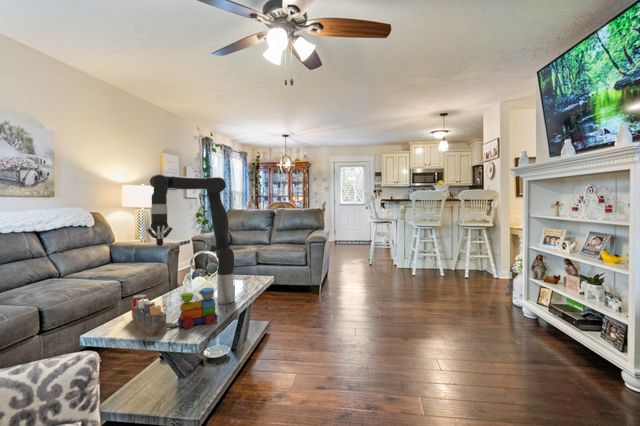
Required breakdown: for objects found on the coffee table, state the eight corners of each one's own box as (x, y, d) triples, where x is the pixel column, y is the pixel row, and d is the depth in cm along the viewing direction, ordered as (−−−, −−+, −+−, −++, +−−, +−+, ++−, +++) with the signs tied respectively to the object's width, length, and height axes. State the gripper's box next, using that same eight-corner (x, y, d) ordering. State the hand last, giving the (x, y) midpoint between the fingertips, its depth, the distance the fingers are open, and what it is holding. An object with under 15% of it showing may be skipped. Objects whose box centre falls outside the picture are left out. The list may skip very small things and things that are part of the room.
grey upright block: (152, 315, 153) (152, 301, 153) (156, 317, 150) (156, 303, 150) (142, 317, 150) (142, 303, 150) (146, 319, 147) (145, 305, 147)
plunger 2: (158, 318, 148) (158, 304, 148) (163, 321, 145) (162, 306, 145) (148, 321, 145) (148, 306, 145) (152, 323, 142) (152, 308, 142)
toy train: (151, 327, 151) (150, 293, 151) (212, 316, 167) (212, 285, 166) (153, 336, 141) (152, 299, 141) (218, 324, 156) (218, 290, 156)
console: (148, 320, 160) (148, 303, 160) (166, 332, 145) (166, 313, 145) (133, 324, 155) (133, 307, 155) (150, 336, 140) (150, 317, 140)
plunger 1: (146, 311, 158) (146, 298, 158) (150, 313, 155) (150, 299, 155) (136, 314, 155) (136, 300, 155) (140, 316, 152) (140, 302, 152)
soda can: (150, 317, 164) (150, 294, 164) (139, 322, 158) (138, 298, 157) (140, 316, 167) (140, 293, 166) (128, 320, 160) (128, 297, 160)
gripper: (169, 212, 173) (169, 244, 173) (143, 213, 163) (143, 246, 164) (175, 212, 168) (175, 245, 168) (148, 213, 158) (149, 247, 159)
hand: (159, 245), depth 166 cm, fingers closed
